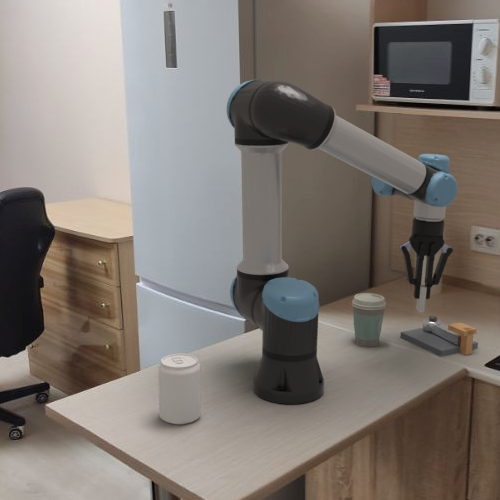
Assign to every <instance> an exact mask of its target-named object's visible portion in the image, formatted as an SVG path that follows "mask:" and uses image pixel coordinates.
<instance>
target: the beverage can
mask: <svg viewBox="0 0 500 500" xmlns="http://www.w3.org/2000/svg"><path fill="white" fill-rule="evenodd" d="M198 360H199V358H198V357H196V356H195V355H192V354H188V353H173V354H169V355H165V356H164V357H162V358H161V360H160V363H159V365H158V406H159V407H158V409H159V413H158V414H159V417H160V419H161V420H162V421H164V422H166V423H169V424H172V425H186V424H190V423H192V422H195V421H196V420H197V419H199V418H200V416H201V408H202V407H201V365H200V362H199V361H198Z"/></svg>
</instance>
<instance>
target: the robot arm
mask: <svg viewBox="0 0 500 500" xmlns="http://www.w3.org/2000/svg"><path fill="white" fill-rule="evenodd" d="M226 116H227V120H228V122H229V123H230V125H231V127H232V128H233V129H234V146H236V147H237V148H238V150H239V151H240V153H241V169H242V170H241V171H242V172H241V173H242V174H241V177H242V184H241V185H242V240H243V242H242V243H243V246H242V247H243V248H242V249H243V259H242V260H241V261H240V262H239V263H238V264H237V266H236V276H235V277H234V278H233V280H232V282H231V285H230V288H229V293H230V294H229V296H230V300H231V303H232V306H233V308H234V309H235V310H236V311H237V313H238V314H239V315H240V316H241V317H243V319H245V320H246V321H247V322H250V323H251V324H253V325H254V326H255V327H256V328H257V329H259V330H261V332H262V334H261V335H262V337H261V339H262V341H261V343H262V344H261V345H262V348H261V349H262V351H261V357H260V360H259V363H258V366H257V368H256V371H255V374H254V377H253V388H252V389H253V392H254V394H255V395H256V396H258V397H259V398H261V399H263V400H266V401H268V402H271V403H276V404H282V405H296V404H297V405H298V404H299V405H300V404H306V403H310V402H313V401H316V400H318V399H320V398H321V397H322V396H323V394H324V392H325V391H324V390H325V380H324V377H323V373H322V370H321V366H320V363H319V360H318V333H319V312H320V301H319V292H318V290H317V288H316V287H315V286H314V285H313V284H311V283H310V282H308V281H306V280H303V279H297V278H296V277H290V273H289V267H290V266H289V264H288V263H287V262H286V261H285V260H284V259H283V253H282V252H283V250H282V249H283V241H282V240H283V231H282V230H283V221H282V220H283V218H282V217H283V214H282V213H283V209H282V208H283V204H282V200H283V199H282V198H283V197H282V196H283V194H282V193H283V192H282V190H283V187H282V180H283V179H282V175H283V174H282V172H283V171H282V169H283V166H282V165H283V161H282V159H283V158H282V154H283V151H284V150H285V149H286V148H287V147H288V145H290V144H289V143H293V144H296V145H299V146H301V147H304V148H305V149H308V150H309V151H316V150H320V151H322V152H325V153H326V154H327V155H330V156H332V157H334V158H336V159H338V160H339V161H342V162H344V163H345V164H347V165H349V166H351V167H353V168H356V169H357V170H360V171H361V172H363V173H364V174H367V175H369V176H371V186H372V189H373V192H374V193H375V194H376V195H378V196H383V197H392V196H394V197H395V196H396V197H398V198H399V197H400V198H403V199H407V200H410V201H414V204H413V205H414V207H413V216H414V217H413V219H412V226H411V227H412V228H411V235H410V237H409V239H408V241H407V242H406V243H404V244H402V243H400V245H399V249H400V251H401V252H402V255H403V261H404V268H405V273H406V280H407V282H408V283H409V284H410V285H412V286H413V298H414V299H415V300H416V307H415V309H416V311H417V313H419V314H421V313H422V314H425V311H426V302H427V301H426V300H430V298H431V289H432V288H433V286H438V285H439V284H440V282H441V278H442V275H443V273H444V270H445V268H446V264H447V261H448V258H449V256H450V255H451V254H452V253H453V251H454V249H453V248H452V247H451V246H450V245H447V244H446V242H445V239H444V229H445V221H444V219H445V218H446V212H447V211H446V210H447V207H448V206H450V204H452V203H453V202H454V200H455V199H456V197H457V194H458V191H459V190H458V189H459V185H458V181H457V180H456V178H455V177H454V176H453V175H452V174H451V173H450V172H451V171H450V168H451V166H450V165H451V161H450V157H449V156H448V155H445V154H438V153H437V154H435V153H422V154H419V156H418V159H416V158H414V157H413V156H411V155H409V154H407V153H405V152H404V151H402V150H399V149H398V148H396V147H394V146H393V145H391V144H389V143H387V142H385V141H383V140H381V139H380V138H378V137H376V136H374V135H373V134H371V133H370V132H367V131H365V130H364V129H362V128H360V127H359V126H356V125H355V124H353V123H351V122H349V121H348V120H345V119H343V118H342V117H340V116H338V115H337V114H336V110H335V108H334V107H333V106H331V105H329V104H327V103H326V102H324V101H322V100H321V99H319V98H317V97H316V96H314V95H312V94H311V93H310V92H307V91H306V90H304V89H303V88H301V87H299V86H297V85H295V84H294V83H291V82H289V81H283V80H268V79H267V80H266V79H260V78H257V79H252V80H247V81H245V82H242V83H240V84H239V85H238V86H236V87H235V88H234V90H233V91H232V92H231V93H230V95H229V98H228V100H227V104H226ZM411 248H412V249H413V251H414V252H415V254H416V255H415V258H416V260H415V269H414V270H415V271H414V273H413V265H412V260H411V255H410V252H411V250H412V249H411ZM439 251H440V252H441V253H440V256H439V258H438V261H437V264H436V266H435V270H434V262H435V258H436V254H438V252H439ZM425 257H426V261H425V262H426V263H425V274H424V284H422V279H423V270H424V269H423V267H424V260H425ZM433 271H434V273H433Z"/></svg>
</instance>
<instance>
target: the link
mask: <svg viewBox="0 0 500 500" xmlns="http://www.w3.org/2000/svg"><path fill="white" fill-rule="evenodd" d="M422 321H423V322H422V328H423V330H424V331H426V332H431V333H434V334H436V335H438V336H440V337H442V338H444V339H446V340H448V341H450V342H452V343H454V344H456V345H460V343H461V335H460V334H458V333H455V332H453V331H450V330H448V325H449V324H448V325H447V324H445V323H443V320H442V319H440V318H438V316H436V315H430V316H429V317H426V318H423V319H422Z"/></svg>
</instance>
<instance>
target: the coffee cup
mask: <svg viewBox="0 0 500 500" xmlns="http://www.w3.org/2000/svg"><path fill="white" fill-rule="evenodd" d="M351 302H352V303H351V306H352V311H353V312H352V315H353V327H354V328H353V329H354V340H355V344H356V345H357V346H361V347H367V348H373V347H376V346H379V342H380V337H381V333H382V326H383V322H384V321H383V320H384V316H385V308H387V303H386V299H385V297H384V296H383V295H381V294H377V293H372V292H365V293H357V294H355V295H354V296H353V299H352V300H351Z"/></svg>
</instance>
